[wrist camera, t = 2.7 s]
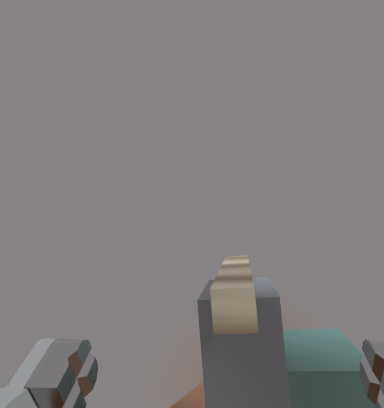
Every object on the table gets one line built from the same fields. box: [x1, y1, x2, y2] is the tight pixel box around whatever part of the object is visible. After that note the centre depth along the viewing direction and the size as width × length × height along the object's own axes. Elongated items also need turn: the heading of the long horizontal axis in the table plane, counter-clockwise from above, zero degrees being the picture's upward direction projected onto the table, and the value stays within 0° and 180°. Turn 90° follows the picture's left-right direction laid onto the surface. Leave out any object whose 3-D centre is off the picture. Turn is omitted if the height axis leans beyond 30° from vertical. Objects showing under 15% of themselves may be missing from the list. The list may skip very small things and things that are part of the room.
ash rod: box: [210, 256, 259, 334], centre depth 27 cm, size 19×3×3 cm, turn 171°
